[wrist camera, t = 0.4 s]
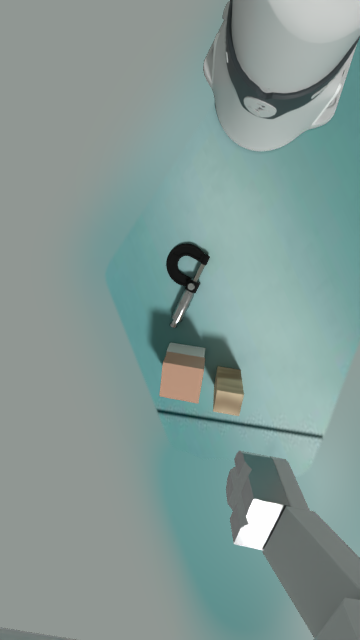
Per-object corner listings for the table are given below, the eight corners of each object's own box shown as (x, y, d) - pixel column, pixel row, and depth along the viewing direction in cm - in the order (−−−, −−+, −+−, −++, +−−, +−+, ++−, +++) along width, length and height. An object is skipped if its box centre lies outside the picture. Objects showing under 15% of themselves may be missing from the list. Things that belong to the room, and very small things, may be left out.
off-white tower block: (170, 341, 52) (166, 351, 48) (205, 347, 51) (204, 357, 47) (167, 372, 54) (163, 383, 50) (200, 377, 53) (199, 389, 50)
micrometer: (177, 236, 45) (174, 237, 42) (214, 254, 45) (214, 256, 42) (145, 310, 50) (141, 314, 48) (178, 326, 50) (176, 331, 48)
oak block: (217, 366, 52) (217, 390, 44) (240, 369, 51) (243, 394, 44) (214, 385, 53) (213, 411, 46) (236, 388, 53) (238, 416, 45)
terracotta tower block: (167, 351, 48) (163, 362, 44) (205, 358, 47) (203, 369, 43) (164, 383, 50) (159, 396, 47) (199, 390, 50) (198, 403, 46)
